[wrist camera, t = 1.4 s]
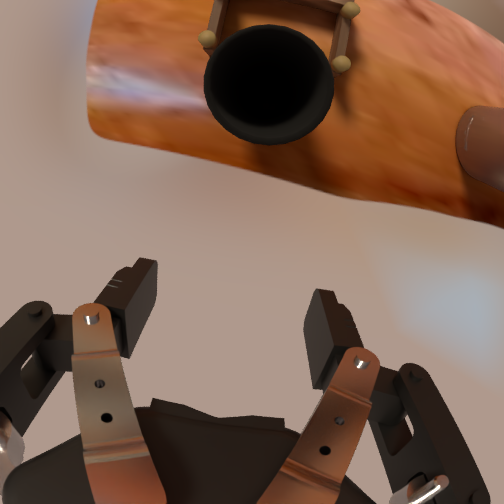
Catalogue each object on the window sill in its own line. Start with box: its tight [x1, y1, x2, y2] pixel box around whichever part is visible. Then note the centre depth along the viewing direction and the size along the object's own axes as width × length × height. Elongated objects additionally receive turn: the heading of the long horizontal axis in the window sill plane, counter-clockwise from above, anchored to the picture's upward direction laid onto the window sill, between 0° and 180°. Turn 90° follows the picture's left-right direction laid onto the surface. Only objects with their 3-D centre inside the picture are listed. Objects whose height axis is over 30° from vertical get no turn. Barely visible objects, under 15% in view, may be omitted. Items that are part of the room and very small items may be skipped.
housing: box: [198, 0, 360, 78], centre depth 21 cm, size 13×8×4 cm, turn 80°
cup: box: [204, 24, 334, 145], centre depth 21 cm, size 8×8×12 cm
